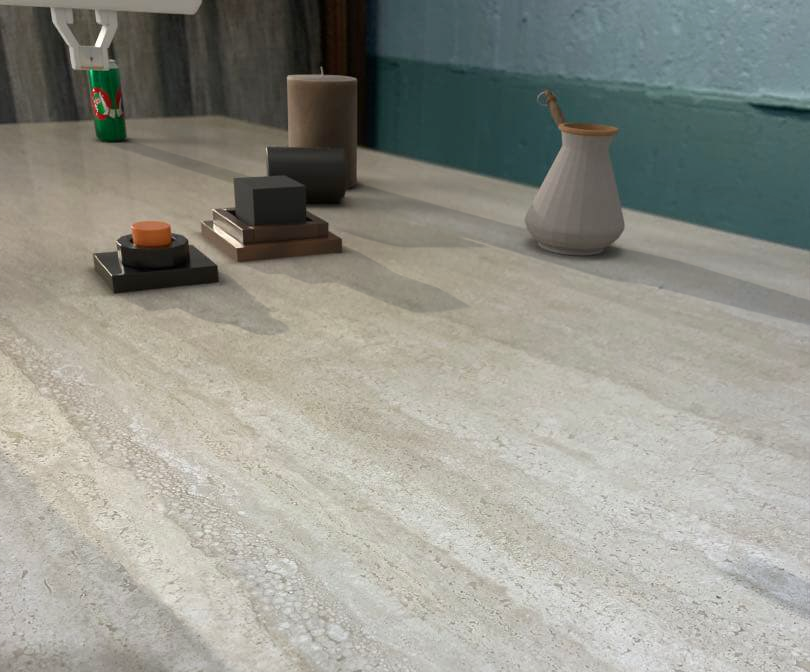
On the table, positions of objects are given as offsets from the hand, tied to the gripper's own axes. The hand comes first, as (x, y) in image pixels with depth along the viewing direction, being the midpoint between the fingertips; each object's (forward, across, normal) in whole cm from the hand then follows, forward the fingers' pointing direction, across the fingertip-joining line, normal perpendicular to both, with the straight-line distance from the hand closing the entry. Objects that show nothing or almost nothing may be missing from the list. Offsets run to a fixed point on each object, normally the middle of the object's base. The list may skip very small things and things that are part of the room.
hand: (90, 69), depth 77 cm
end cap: (+17, -30, -22) cm, 41 cm away
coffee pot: (+17, -52, +4) cm, 55 cm away
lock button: (+14, -3, +4) cm, 15 cm away
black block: (+16, -18, -4) cm, 24 cm away
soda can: (+18, -17, -75) cm, 79 cm away
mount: (+17, -18, -4) cm, 25 cm away
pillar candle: (+17, -37, -32) cm, 52 cm away
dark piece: (+18, -3, +4) cm, 18 cm away
